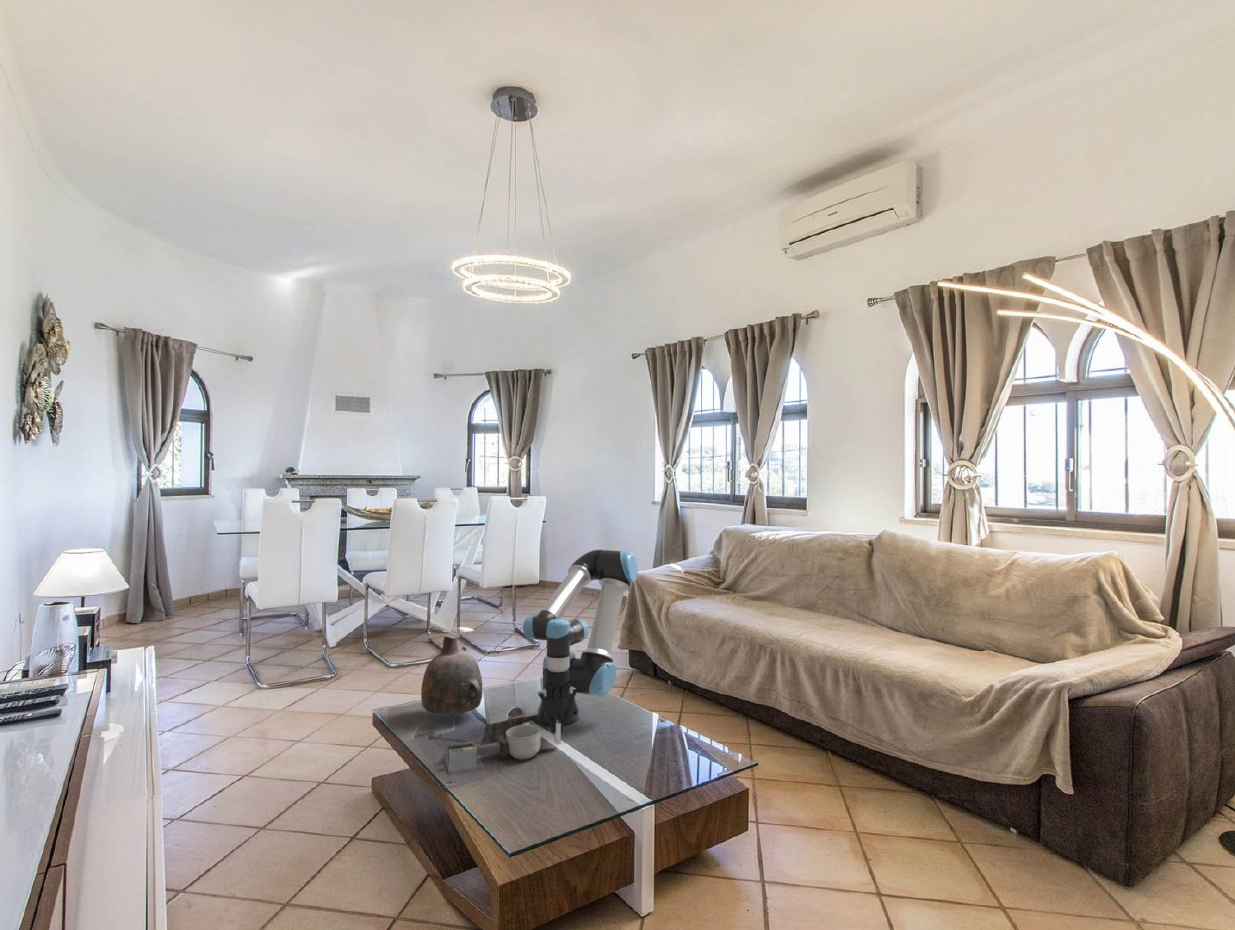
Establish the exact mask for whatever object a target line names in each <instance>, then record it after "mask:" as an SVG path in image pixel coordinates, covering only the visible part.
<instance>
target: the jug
mask: <svg viewBox="0 0 1235 930" xmlns="http://www.w3.org/2000/svg"><path fill="white" fill-rule="evenodd" d="M442 641H443V642H442V649H441V651H440V653H438V654H436V655H435V656H433V658H432V659H431V660H430V661H429V663H428V664H427V666H426V668H425V671H424V673H423V678H422V683H421V693H420V695H421V699H420V700H421V705H422V708H423V709H424V710H425V711H426V712H428V713H430V714H434V715H439V716H443V717H445V718H448V719H450V720H451V719H454V718H455V717H457V716H459V715H462V714H466V713H468V712H470V711H474V710H475V709H478V707H479V706H480V705H481V702H482V699H483V691H484V690H483V689H484V688H483V680H482V678H483V677H482V675H481V674H482V673H481V670H480V668H479V665H478V663H477V660H476V659H475V658H474V657H473V656H472V655H471V654H470V653H469V652H467V647H466V646H462V648H461V650H460V649H459V646H458V638H457V636H454V637H453V636H450V635H445V636H444V638H443V640H442Z"/></svg>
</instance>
